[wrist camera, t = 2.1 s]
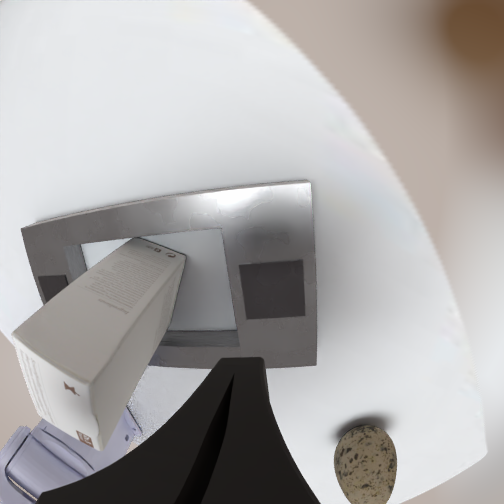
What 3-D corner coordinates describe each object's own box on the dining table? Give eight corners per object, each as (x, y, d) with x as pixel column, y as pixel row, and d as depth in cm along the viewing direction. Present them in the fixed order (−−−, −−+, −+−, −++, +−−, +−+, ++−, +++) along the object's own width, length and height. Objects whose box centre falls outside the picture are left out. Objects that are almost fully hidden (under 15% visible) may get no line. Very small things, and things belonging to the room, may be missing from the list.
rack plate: (313, 348, 20) (316, 366, 18) (75, 342, 23) (64, 354, 21) (306, 180, 16) (310, 183, 14) (36, 222, 19) (19, 228, 17)
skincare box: (133, 234, 18) (1, 323, 7) (192, 255, 19) (90, 383, 7) (123, 306, 21) (30, 412, 9) (174, 327, 21) (102, 457, 9)
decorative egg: (325, 446, 24) (330, 524, 15) (338, 414, 22) (349, 506, 13) (376, 442, 24) (391, 515, 14) (395, 410, 22) (419, 492, 12)
